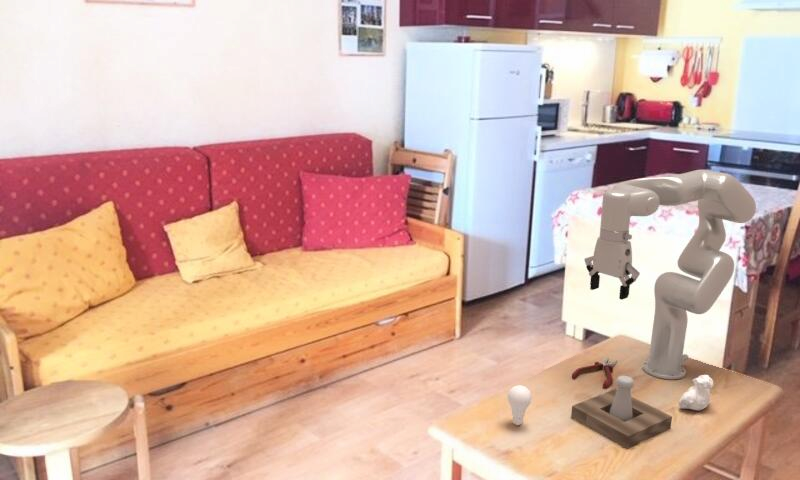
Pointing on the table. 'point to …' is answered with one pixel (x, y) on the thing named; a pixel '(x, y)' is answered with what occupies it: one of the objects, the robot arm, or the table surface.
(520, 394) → the lightbulb
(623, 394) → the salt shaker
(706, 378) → the bust
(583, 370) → the pliers
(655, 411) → the walnut stand
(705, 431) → the table surface
